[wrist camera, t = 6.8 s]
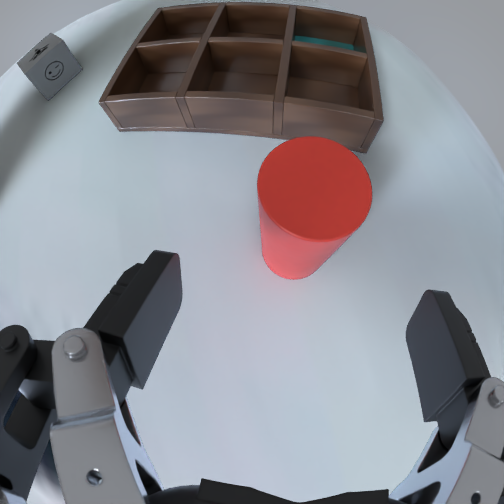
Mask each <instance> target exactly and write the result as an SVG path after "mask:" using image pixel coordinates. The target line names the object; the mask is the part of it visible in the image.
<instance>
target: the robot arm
mask: <svg viewBox="0 0 504 504" xmlns="http://www.w3.org/2000/svg"><path fill="white" fill-rule="evenodd" d="M181 302H182V281H181V269H180V258H179V255H178V254H177V253H171V252H165V251H159V250H154V251H153V252H152V253H151V254H150V256H149V257H148V258H147V260H146V261H145V263H144V264H141V263H137V264H135V265H134V266H132V267H131V268H129V269H128V270H126V271H125V272H124V273H123V274H122V276H121V277H120V278H119V280H118V281H117V282H116V285H114V286H113V287H112V289H111V290H110V293H109V294H107V296H106V297H105V298H104V300H103V301H102V302H101V304H100V305H99V306H98V308H97V309H96V311H95V312H94V313H93V315H92V316H91V318H90V319H89V321H88V322H87V323H86V325H85V326H84V327H83V328H75V329H71V330H68V331H66V332H65V333H63V334H62V335H60V336H59V337H58V338H57V339H56V341H46V340H32V338H31V336H30V334H29V333H28V331H27V330H26V328H24V327H23V326H20V325H11V326H8V327H6V328H4V329H2V330H1V331H0V504H27V503H26V501H27V498H28V495H29V492H30V489H31V486H32V483H33V480H34V477H35V475H36V472H37V469H38V466H39V464H40V461H41V459H42V456H43V454H44V451H45V449H46V446H47V444H48V441H49V439H50V440H51V446H52V451H53V456H54V461H55V465H56V470H57V474H58V478H59V482H60V486H61V489H62V493H63V496H64V500H65V503H66V504H504V382H503V381H502V380H500V379H498V378H494V377H491V376H490V373H489V370H488V368H487V365H486V363H485V360H484V358H483V355H482V353H481V350H480V348H479V345H478V343H476V338H475V336H474V334H473V333H472V330H471V327H470V325H469V323H468V321H467V319H466V318H465V316H464V315H463V314H462V313H461V312H460V311H459V310H458V308H456V306H455V304H454V302H453V300H452V298H451V296H450V294H449V293H448V292H444V291H436V290H426V291H425V292H424V294H423V296H422V298H421V300H420V302H419V304H418V306H417V308H416V310H415V311H414V313H413V315H412V317H411V319H410V321H409V323H408V325H407V329H406V342H407V345H408V349H409V353H410V357H411V361H412V365H413V369H414V374H415V378H416V383H417V387H418V392H419V397H420V402H421V407H422V412H423V418H424V422H431V421H437V422H438V426H437V427H436V428H435V429H434V431H433V432H432V434H431V436H430V438H429V440H428V442H427V444H426V446H425V448H424V449H423V451H422V453H421V455H420V457H419V458H418V460H417V462H416V464H415V465H414V467H413V469H412V470H411V472H410V473H409V475H408V476H407V477H406V478H405V480H404V481H402V482H401V483H400V484H399V485H398V486H397V487H396V488H395V489H394V490H393V491H392V493H391V494H390V495H389V489H386V490H375V491H362V492H346V493H343V494H339V495H335V496H331V497H327V498H322V499H318V500H313V501H308V502H301V503H299V502H293V501H290V500H286V499H283V498H280V497H277V496H274V495H271V494H268V493H265V492H262V491H259V490H256V489H254V488H251V487H245V486H239V485H233V484H227V483H222V482H216V481H212V480H207V479H201V483H200V485H189V486H179V487H174V488H169V489H165V490H164V487H163V485H162V483H161V481H160V479H159V476H158V474H157V472H156V470H155V468H154V466H153V464H152V462H151V460H150V458H149V456H148V454H147V452H146V450H145V448H144V445H143V443H142V440H141V437H140V435H139V432H138V429H137V426H136V423H135V421H134V418H133V415H132V412H131V408H130V405H129V402H128V399H127V396H126V395H127V393H128V391H129V389H130V386H133V387H136V388H140V389H143V388H144V386H145V383H146V381H147V379H148V377H149V374H150V372H151V370H152V368H153V365H154V363H155V361H156V359H157V357H158V354H159V352H160V350H161V348H162V346H163V343H164V341H165V339H166V337H167V335H168V333H169V330H170V328H171V326H172V324H173V322H174V320H175V318H176V316H177V313H178V311H179V309H180V306H181ZM18 390H20V392H21V393H22V394H21V396H20V398H19V400H18V402H17V404H16V406H15V408H14V410H13V412H12V414H11V416H10V418H9V420H8V422H7V424H6V426H5V427H4V426H3V420H4V417H5V414H6V412H7V410H8V408H9V407H10V405H11V403H12V401H13V399H14V397H15V395H16V393H17V391H18Z"/></svg>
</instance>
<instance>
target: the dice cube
mask: <svg viewBox="0 0 504 504" xmlns="http://www.w3.org/2000/svg"><path fill="white" fill-rule="evenodd" d="M17 64H18V66H19V67H20V68H21V70H22V71H23V73H24V74H25V75H26V76H27V78H28V79H29V80H30V81H31V82H32V83H33V84H34V86H35V87H36V88H37V89H38V90H39V91H40V92H41V93H42V95H43V96H44V97H45V98H46V99H47V100H48V101H49V100H50V99H51V98H52V97H53V96H54V95H55V94H56V93H57V92H58V91H59V90H60V89H61V88H62V87H63V86H64V85H65V84H67V83H68V82H69V81H70V80H71V79H72V78H73V77H74V76H76V75H77V74H78V73H79V72H80V71H81V70H83V69H82V68H81V66H80V65H79V63H78V62H77V60H76V59H75V57H74V56H73V54H72V53H71V51H70V50H69V48H68V47H67V45H66V44H65V42H64V41H63V40H62V39H61V38H59V37H57V36H56V35H54V34H52V33H50V34H49V35H48V36H46V37H45V38H44V39H43V40H41V41H40V42H39V43H38V44H37V45H36V46H35V47H33V48H32V49H31V50H30V51H29V52H28V53H27V54H26V55H25V56H24V57H23V58H22V59H21V60H20V61H19V62H18V63H17Z"/></svg>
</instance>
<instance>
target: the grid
mask: <svg viewBox="0 0 504 504" xmlns="http://www.w3.org/2000/svg"><path fill="white" fill-rule="evenodd" d="M99 104H100V106H101V107H102V108H103V110H104V111H105V112H106V114H107V115H108V117H109V118H110V119H111V121H112V122H113V123H114V125H115V126H116V127H117V129H118V130H119V131H120V132H121V131H184V132H208V133H224V134H237V135H248V136H259V137H268V138H277V139H285V140H291V139H294V138H298V137H305V136H315V137H322V138H327V139H330V140H333V141H335V142H337V143H339V144H341V145H343V146H345V147H346V148H348V149H349V150H353V151H358V152H363V153H367V151H368V149H369V147H370V145H371V143H372V141H373V140H374V138H375V136H376V134H377V132H378V130H379V128H380V127H381V125H382V123H383V111H382V103H381V95H380V88H379V81H378V74H377V68H376V62H375V57H374V51H373V46H372V41H371V37H370V32H369V27H368V23H367V19H366V17H362V16H358V15H353V14H349V13H344V12H339V11H333V10H327V9H321V8H314V7H307V6H298V5H297V6H296V5H288V4H276V3H256V2H227V3H226V2H221V3H201V4H189V5H179V6H170V7H164V8H158V9H157V10H156V11H155V13H154V14H153V15H152V17H151V18H150V19H149V21H148V22H147V23H146V25H145V26H144V28H143V29H142V30H141V32H140V33H139V35H138V36H137V38H136V39H135V41H134V42H133V44H132V45H131V47H130V48H129V50H128V51H127V53H126V55H125V56H124V58H123V59H122V61H121V63H120V64H119V66H118V68H117V69H116V71H115V73H114V75H113V76H112V78H111V80H110V82H109V83H108V85H107V87H106V89H105V91H104V93H103V94H102V96H101V98H100V100H99Z"/></svg>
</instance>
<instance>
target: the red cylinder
mask: <svg viewBox="0 0 504 504" xmlns="http://www.w3.org/2000/svg"><path fill="white" fill-rule="evenodd" d="M257 191H258V204H259V216H260V229H261V242H262V253H263V257H264V260H265V262H266V264H267V265H268V267H269V268H270V269H271V270H272V271H273V272H274V273H275V274H277V275H279V276H281V277H283V278H286V279H293V280H295V279H302V278H305V277H307V276H310V275H311V274H313V273H314V272H315V271H316V270H317V269H318V268H319V267H320V266H321V265H322V264H323V263H324V262H325V261H326V260H327V259H328V258H329V257H330V256H331V255H332V254H333V253H334V252H335V251H336V250H337V249H338V248H339V247H340V246H341V245H342V244H343V243H344V242H345V241H346V240H347V239H348V238H349V237H350V236H351V235H352V234H353V233H354V232H355V231H356V230H357V229H358V228H359V227H360V225H361V224H362V223H363V222H364V220H365V219H366V217H367V215H368V213H369V210H370V207H371V202H372V186H371V181H370V178H369V175H368V173H367V171H366V169H365V167H364V165H363V164H362V162H361V161H360V160H359V159H358V157H357V156H356V155H355V154H354V153H353V152H351V151H350V150H349V149H348V148H346V147H345V146H343V145H341V144H339V143H337V142H335V141H333V140H330V139H327V138H322V137H315V136H305V137H298V138H294V139H291V140H288V141H286V142H284V143H282V144H280V145H279V146H277V147H276V148H275V149H274V150H272V151H271V152H270V153H269V155H268V156H267V157H266V158H265V160H264V162H263V163H262V165H261V168H260V170H259V174H258V180H257Z"/></svg>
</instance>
